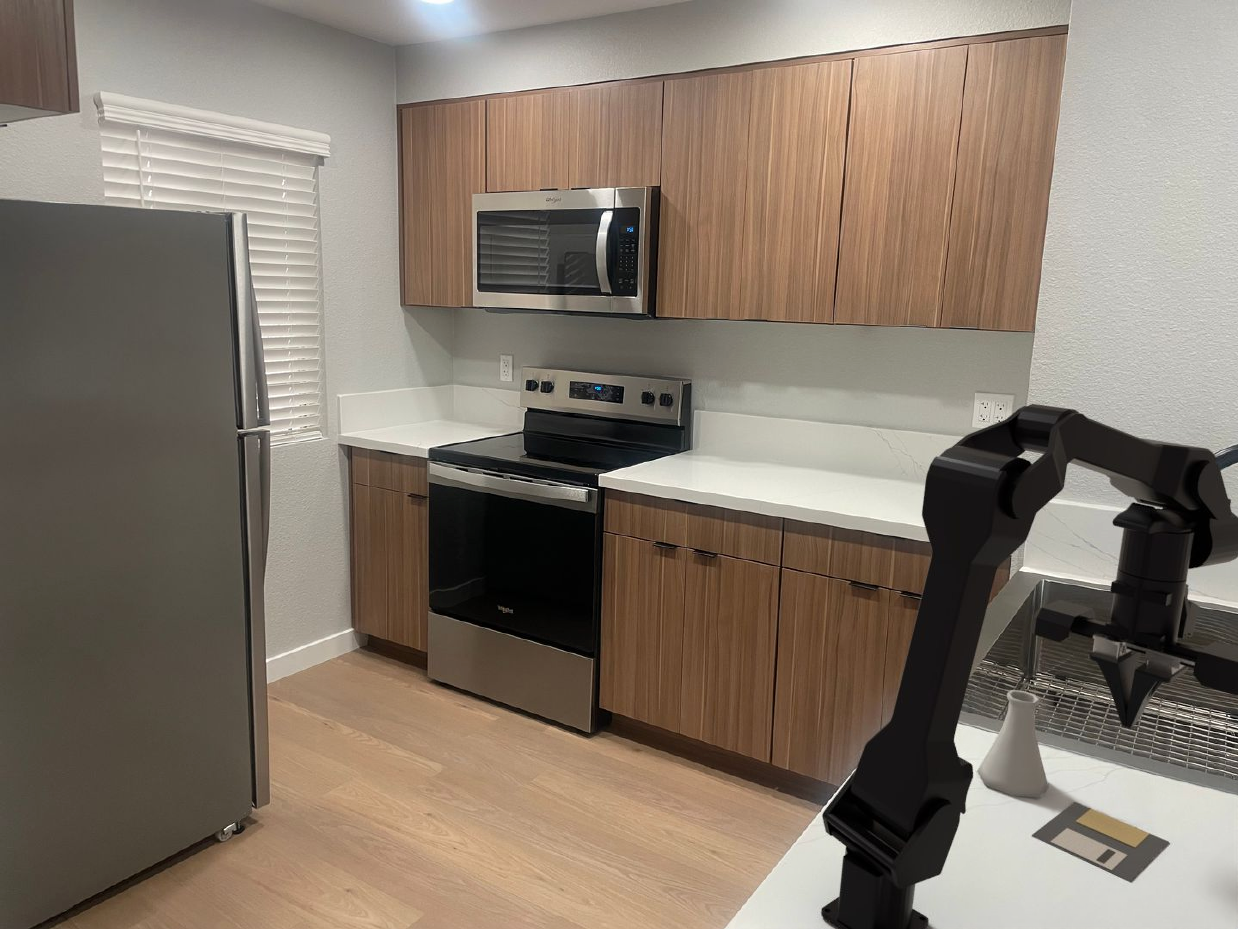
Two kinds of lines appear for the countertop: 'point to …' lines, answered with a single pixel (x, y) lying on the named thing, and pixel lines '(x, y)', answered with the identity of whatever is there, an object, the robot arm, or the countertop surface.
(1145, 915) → the countertop surface
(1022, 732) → the flask
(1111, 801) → the countertop surface
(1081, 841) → the floppy disk
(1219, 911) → the countertop surface
